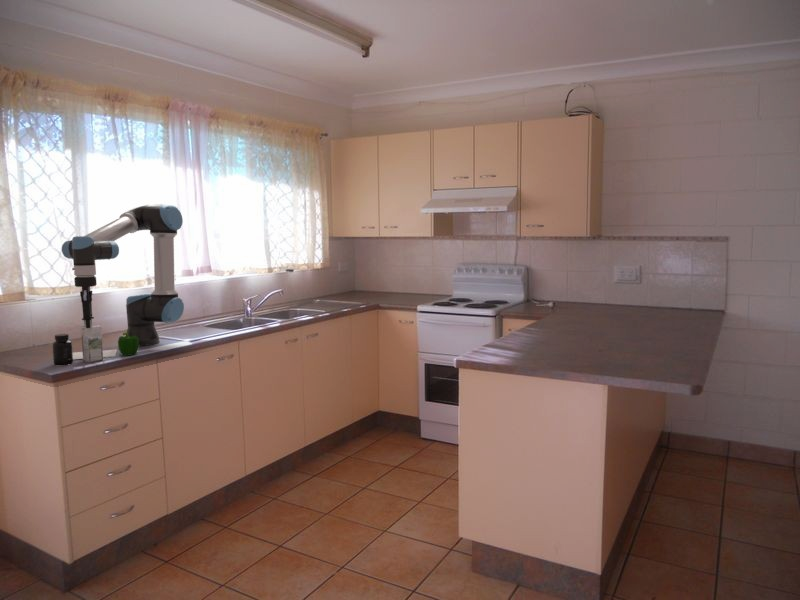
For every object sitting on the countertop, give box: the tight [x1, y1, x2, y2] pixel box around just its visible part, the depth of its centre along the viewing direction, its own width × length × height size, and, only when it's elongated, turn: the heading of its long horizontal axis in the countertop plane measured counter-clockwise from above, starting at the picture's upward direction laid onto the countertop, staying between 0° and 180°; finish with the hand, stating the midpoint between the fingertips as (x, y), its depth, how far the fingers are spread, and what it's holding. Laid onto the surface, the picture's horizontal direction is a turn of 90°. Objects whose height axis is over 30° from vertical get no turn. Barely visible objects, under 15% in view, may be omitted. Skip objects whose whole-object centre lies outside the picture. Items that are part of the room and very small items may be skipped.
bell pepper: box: [117, 331, 140, 357], centre depth 258 cm, size 8×8×10 cm
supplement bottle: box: [52, 333, 74, 366], centre depth 241 cm, size 7×7×12 cm
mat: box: [73, 349, 118, 361], centre depth 258 cm, size 18×15×1 cm
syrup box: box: [80, 324, 104, 363], centre depth 247 cm, size 6×6×14 cm
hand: (89, 335), depth 237 cm, fingers closed
